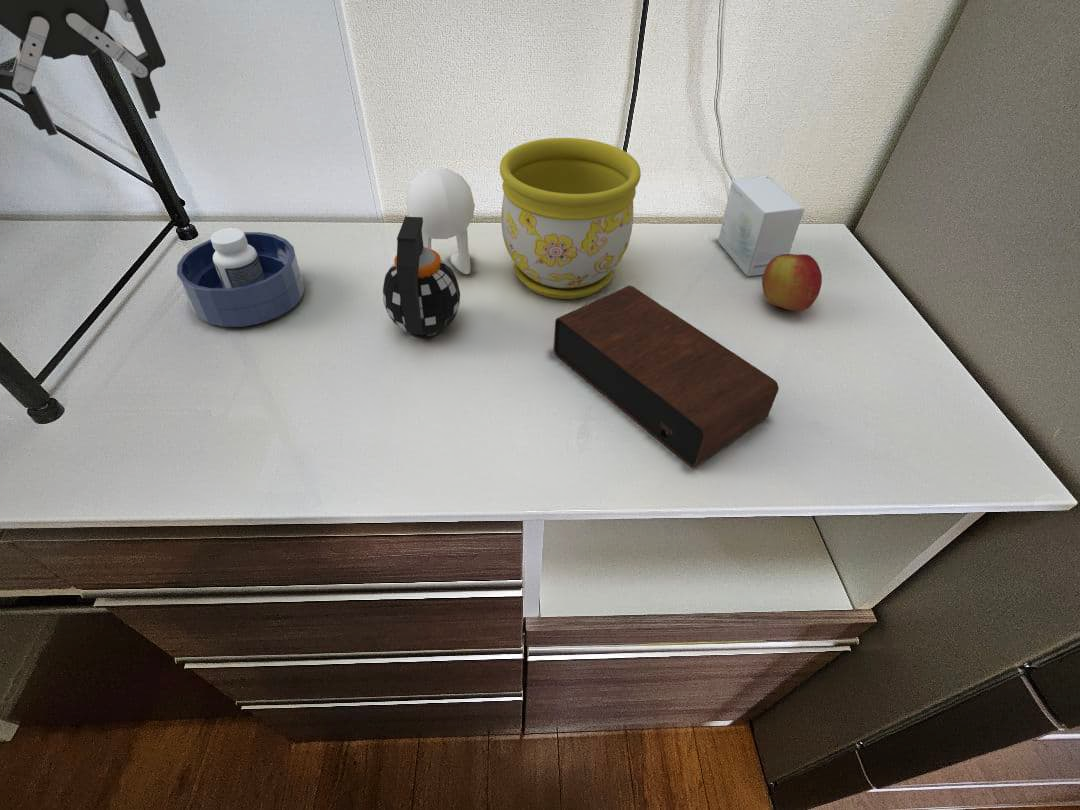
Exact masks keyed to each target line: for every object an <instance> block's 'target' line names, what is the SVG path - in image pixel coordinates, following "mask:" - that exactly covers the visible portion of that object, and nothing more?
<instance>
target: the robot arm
mask: <svg viewBox="0 0 1080 810" xmlns="http://www.w3.org/2000/svg"><path fill="white" fill-rule="evenodd" d="M110 11H115V12H117V13H118V14H119V16H120V18H122V20H123V21H125V22H128V23H133V25H134V28H135V30H136V32H137V35H138V38H139V40H140V42H141V44H142V47H143V48H144V51H143V52H141V53H140V54H138V55H136V54H135V53H134V52H132V51H131V50H130V49H129V48H127V47H126V46H125V45H124V44H122V43H121V41H119V40H118V39H117V38H116V37H114V36H113V35H112V34H111V33H110V32H108V31H107V30H106V27H107V24H108V20H109V17H110ZM149 19H150V18H149V17H148V15H147V13H146V10H145V7H144V5H143V3H142V1H141V0H0V26H2V27H3V28H4V29H5V30H7V31H8V32H10V33H11V34H12V35H14V36H15V37H16V38H17V39H19V44H18V47H17V51H16V57H15V61H14V64H13V68H12V71H9V70H4V69H0V90H5V91H11V92H13V93H14V94H16V95H17V96H18V98H19V99H20V102H21V103H22V105H23V107H24V108H25V110H26V112H27V114H28V116H29V118H30V120H31V122H32V124H33V126H34V127H35V128H37V129H38V130H39V131H43V130H45V131H46V133H47V135H48V137H51V136H56V135H58V131H57V127H56V125H55V123H54V121H53V119H52V117H51V115H50V113H49V111H48V108H47V106H46V105H45V103H44V101H43V98H42V97H41V94H40V92H39V91H38V89H37V87H36V86H35V85H33V81H34V78H35V74H36V72H37V70H38V68H39V67H38V66H39V64H40V61H41V56H44V57H47V58H52V60H59V59H60V60H61V59H66V58H67V57H69V56H82V57H84V56H85V57H86V56H93V55H94V53H95V52H97V51H98V49H100V50H101V51H102V52H103V53H105V54H106V55H107V56H109V57H110V58H111V59H113V60H114V61H115V62H118V63H119V64H120V65H122V66H123V67H124V68H126V69H127V70H128V71H129V72H130V75H131V78H132V80H133V83H134V85H135V88H136V91H137V93H138V96H139V99H140V101H141V104H142V106H143V108H144V110H145V113H146V115H147V117H148V119H149V120H153V119H157V118H158V115H157V114H156V112H160V111H161V103H160V101H159V98H158V96H157V95H158V94H157V92H156V90H155V88H154V85H153V82H152V79H151V73H152V72H153V71H155V70H156V69H158V68H164V67H165V66H166V62H167V61H166V58H165V55H164V53H163V51H162V48H161V46H160V44H159V41H158V39H157V36H156V33H155V31H154V29H153V27H152V24H151V22H150V20H149Z"/></svg>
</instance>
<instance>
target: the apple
mask: <svg viewBox="0 0 1080 810" xmlns="http://www.w3.org/2000/svg"><path fill="white" fill-rule="evenodd" d="M761 284H762V294H763V296H764V298H765V300H766V301H767V302H768V303H769V304H770V305H772V306H776V307H780V308H782V309H785V310H789V311H794V312H798V313H799V312H804V311H805V310H807V309H809V308H810V307H812V305H813V304H814V303H815V301H816V300H817V298H818V296H819V295H820V293H821V289H822V284H823V275H822V270H821V268H820V265H819V264H818V262H817V260H816V259H815V258H814V257H813V256H811V255H808V254H803V253H802V254H795V253H789V254H782V255H779V256H776V257H774V258H773V259H772V260H771V261H770V262H769V263H768V265H767V267H766V269H765V271H764V274H762V279H761Z"/></svg>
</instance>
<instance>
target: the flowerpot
mask: <svg viewBox="0 0 1080 810" xmlns="http://www.w3.org/2000/svg"><path fill="white" fill-rule="evenodd" d="M639 164H640V163H638V161H637V160H636V159H635V158H634V157H633V155H631V154H629V153H628V152H626V151H625V150H623V149H621V148H619V147H617V146H614V145H611V144H609V143H606V142H601V141H598V140H593V139H587V138H579V137H578V138H577V137H550V138H542V139H541V138H540V139H535V140H531V141H527V142H525V143H524V142H523V143H522V144H520V145H517V146H515V147H513V148H511V149H510V150H509V151H507V152H506V153H505V154H504V155H503V156H502V158H501V160H500V163H499V173H500V177H501V179H502V184H501V185H502V187H501V188H502V192H503V197H502V203H501V215H500V216H501V217H500V218H501V220H500V221H501V233H502V238H503V242H504V245H505V249H506V251H507V252H508V255H509V257H510V258H511V260H512V262H513V263H514V264H513V268H514V273H515V275H516V276H517V278H518V279H519V281H521V282H522V283H523V284H524V285H525V286H526V287H527V288H529V289H530V290H531V291H532V292H534V293H536V294H538V295H542V296H544V297H549V298H552V299H559V300H560V299H561V300H574V299H580V298H581V299H582V298H585V297H588V296H591V295H593V294H595V293H597V292H598V291H599V290H601V289H602V288H603V287H605V286H606V285H607V284H608V283H610V281H611V280H612V278H613V276H614V271H615V270H614V269H615V267H617V266H618V263H620V262H621V260H622V258H623V257H624V255H625V254H626V251H627V249H628V246H629V245H630V244H629V243H630V241H631V236H632V230H633V223H634V199H635V197H636V193H637V191H636V188H637V186H638V185H639V183H640V180H641V176H642V175H641V174H642V173H641V167H640V165H639Z"/></svg>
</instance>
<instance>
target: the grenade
mask: <svg viewBox="0 0 1080 810" xmlns="http://www.w3.org/2000/svg"><path fill="white" fill-rule="evenodd" d="M422 225H423V217H409V216H404V218H403V221H402V224H401V226H400V230H399V232H398V234H397V236H396V242H397V243H396V244H397V245H396V255H395V256H394V259H393V264H392V265H391V266H390V268H389V269H388V271H387V272H386V273H385V276H384V280H383V287H382V301H383V304H384V308H385V310H386V313H387V314H388V317H389V318H390V319H391V321H392V322H393V323H394V324H395V325H396V326H398V328H400V329H401V330H403V331H404V332H405V333H408V334H409V335H411V336H413V337H415V338H420V339H428V338H433V337H436V336H438V335H440V334H441V333H442V332H443V331H444V330H445V329H446V328H447V327H448V326H449V325H450V324H452V322H453V320H454V319H455V318H456V316H457V313H458V312H459V311H458V310H459V308H460V302H461V291H460V286H459V282H458V280H457V279H458V278H457V277H456V274H455V273H454V271H453V269H452V268H451V267H450V266H449V265H448V264H447V263H446V262H445V261H443V260H442V259H441V255H440V254H439V252H437V251H435V250H434V249H432V248H431V249H429V248H425V247H423V238H422Z"/></svg>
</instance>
